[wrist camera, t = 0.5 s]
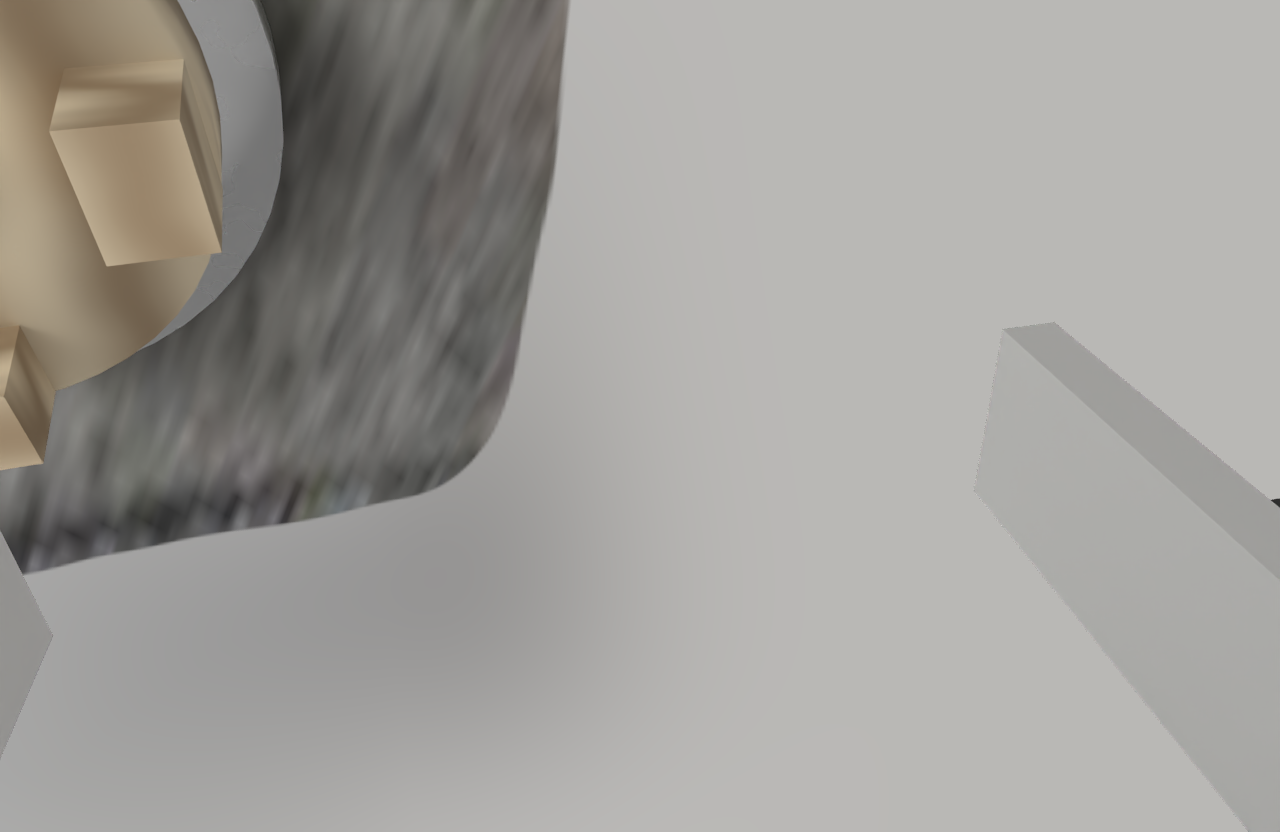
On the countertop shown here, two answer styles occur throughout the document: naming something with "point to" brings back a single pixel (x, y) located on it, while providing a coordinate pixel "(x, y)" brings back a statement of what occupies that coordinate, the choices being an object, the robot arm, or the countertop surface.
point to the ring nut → (97, 194)
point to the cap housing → (238, 134)
